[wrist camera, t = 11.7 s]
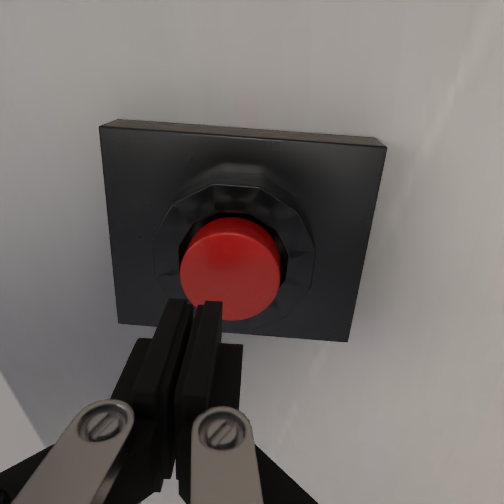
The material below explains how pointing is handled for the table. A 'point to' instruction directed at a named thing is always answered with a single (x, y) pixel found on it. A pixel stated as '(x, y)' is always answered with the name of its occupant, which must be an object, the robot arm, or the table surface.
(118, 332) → the table surface
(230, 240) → the button
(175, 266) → the black button base
